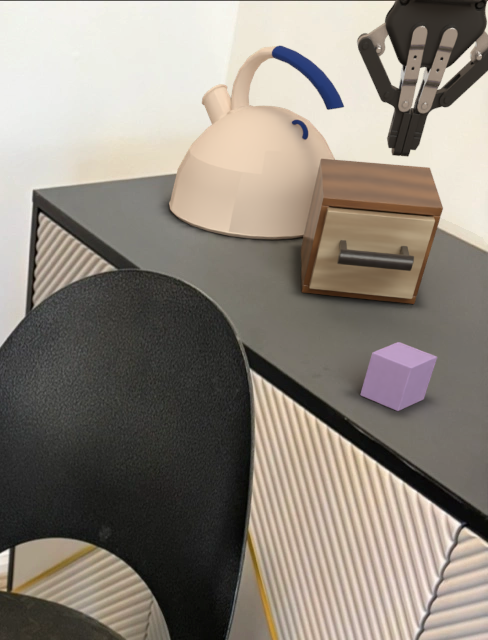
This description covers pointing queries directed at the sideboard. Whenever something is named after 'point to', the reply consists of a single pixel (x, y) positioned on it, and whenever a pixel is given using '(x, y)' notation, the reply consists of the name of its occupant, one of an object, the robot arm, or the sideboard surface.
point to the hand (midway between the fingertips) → (400, 153)
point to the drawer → (371, 252)
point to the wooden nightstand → (367, 206)
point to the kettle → (254, 159)
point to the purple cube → (398, 376)
